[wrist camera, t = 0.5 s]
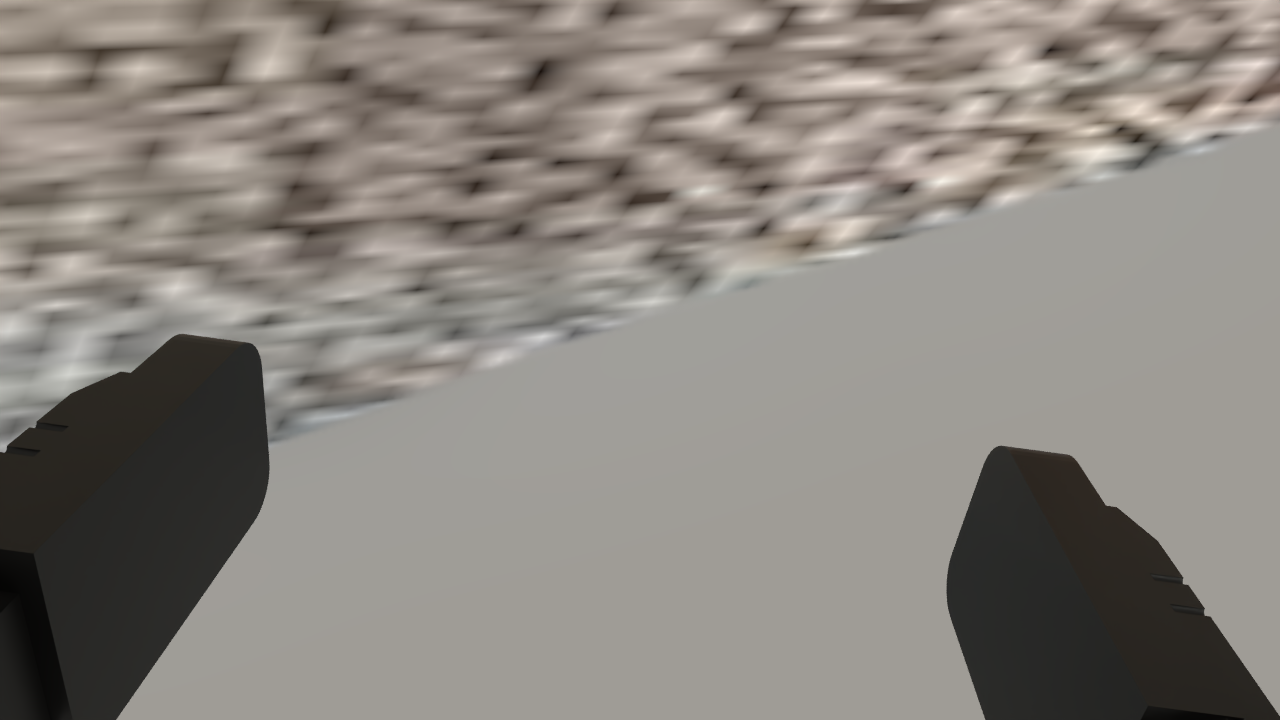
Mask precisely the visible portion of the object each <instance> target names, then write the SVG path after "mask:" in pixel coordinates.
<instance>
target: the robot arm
mask: <svg viewBox="0 0 1280 720" xmlns="http://www.w3.org/2000/svg"><path fill="white" fill-rule="evenodd" d="M268 479H269V451H268V438H267V426H266V413H265V400H264V388H263V375H262V365H261V359H260V355H259V353H258V350H257V349H256V347H255V346H254V345H253V344H251V343H246V342H239V341H231V340H224V339H216V338H209V337H201V336H194V335H187V334H178V335H176V336H174V337H172V338H171V339H170V340H169V341H167V342H166V343H165V344H164V345H163V346H162V347H160V348H159V349H158V350H157V351H156V352H155V353H153V354H152V355H151V356H150V357H149V358H148V359H147V360H145V361H144V362H143V363H142V364H141V365H140V366H138V367H137V368H136V369H135V370H134V371H133V372H131V373H127V372H119V373H117V374H115V375H112V376H110V377H108V378H105V379H103V380H101V381H99V382H96V383H94V384H92V385H89V386H87V387H85V388H83V389H80V390H78V391H76V392H73V393H71V394H70V395H69V396H68V397H66V398H65V399H64V400H63V401H61V402H60V403H59V404H58V405H57V406H55V407H54V408H53V409H52V410H50V411H49V412H48V413H47V414H46V415H44V416H43V417H42V418H41V419H39V420H38V421H37V425H36V427H35V428H28V429H27V430H26V431H25V432H23V433H22V434H21V435H20V436H18V437H17V438H16V439H15V440H14V441H12V442H11V443H10V444H9V445H7V450H6V452H5V453H2V452H0V720H116V719H117V718H118V716H119V715H120V713H121V712H122V710H123V709H124V708H125V706H126V705H127V703H128V702H129V700H130V699H131V697H132V696H133V695H134V693H135V692H136V690H137V689H138V688H139V686H140V685H141V683H142V682H143V680H144V679H145V677H146V676H147V675H148V673H149V672H150V670H151V669H152V667H153V666H154V665H155V663H156V662H157V660H158V658H159V657H160V656H161V655H162V653H163V652H164V650H165V649H166V647H167V646H168V644H169V643H170V642H171V640H172V639H173V637H174V636H175V634H176V633H177V631H178V630H179V629H180V627H181V626H182V624H183V623H184V621H185V620H186V619H187V617H188V616H189V614H190V613H191V611H192V610H193V609H194V607H195V606H196V604H197V603H198V601H199V600H200V599H201V597H202V596H203V594H204V593H205V591H206V590H207V589H208V587H209V586H210V584H211V583H212V581H213V580H214V578H215V577H216V576H217V574H218V573H219V571H220V570H221V568H222V567H223V565H224V564H225V563H226V561H227V560H228V558H229V557H230V556H231V554H232V553H233V551H234V550H235V548H236V547H237V546H238V544H239V543H240V541H241V540H242V538H243V537H244V535H245V534H246V533H247V531H248V530H249V528H250V527H251V525H252V524H253V522H254V521H255V519H256V518H257V516H258V514H259V512H260V510H261V507H262V505H263V501H264V498H265V495H266V490H267V486H268ZM947 604H948V609H949V613H950V617H951V620H952V623H953V626H954V629H955V632H956V635H957V638H958V641H959V644H960V647H961V650H962V653H963V656H964V658H965V661H966V664H967V667H968V670H969V673H970V676H971V679H972V682H973V684H974V688H975V691H976V693H977V697H978V700H979V702H980V705H981V708H982V711H983V714H984V717H985V720H1280V716H1279V715H1278V713H1277V712H1276V710H1275V709H1274V707H1273V706H1272V705H1271V703H1270V702H1269V700H1268V699H1267V697H1266V696H1265V695H1264V693H1263V692H1262V690H1261V689H1260V687H1259V686H1258V685H1257V683H1256V682H1255V680H1254V679H1253V677H1252V676H1251V674H1250V673H1249V672H1248V670H1247V669H1246V667H1245V666H1244V664H1243V663H1242V662H1241V660H1240V659H1239V657H1238V656H1237V654H1236V653H1235V651H1234V650H1233V649H1232V647H1231V646H1230V644H1229V643H1228V641H1227V640H1226V638H1225V637H1224V636H1223V634H1222V633H1221V631H1220V630H1219V628H1218V627H1217V626H1216V624H1215V623H1214V621H1213V620H1212V618H1211V617H1209V616H1205V615H1204V609H1205V608H1204V607H1203V605H1202V604H1201V603H1200V601H1199V600H1198V598H1197V597H1196V595H1195V594H1194V592H1193V591H1192V590H1191V588H1190V587H1189V586H1188V585H1184V584H1183V577H1182V575H1181V574H1180V572H1179V571H1178V569H1177V568H1176V567H1175V565H1174V564H1173V562H1172V561H1171V559H1170V558H1169V556H1168V555H1167V554H1166V552H1165V551H1164V549H1163V548H1162V546H1161V545H1160V544H1159V542H1158V541H1157V540H1156V539H1155V538H1153V537H1152V536H1151V535H1150V534H1149V533H1147V532H1146V531H1145V530H1144V529H1143V528H1141V527H1140V526H1139V525H1138V524H1136V523H1135V522H1134V521H1133V520H1132V519H1130V518H1129V517H1128V516H1127V515H1125V514H1124V513H1123V512H1122V511H1121V510H1119V509H1118V508H1117V507H1111V506H1106V505H1105V504H1104V502H1103V501H1102V499H1101V498H1100V496H1099V494H1098V493H1097V491H1096V490H1095V488H1094V487H1093V485H1092V484H1091V482H1090V481H1089V479H1088V478H1087V476H1086V475H1085V473H1084V471H1083V470H1082V468H1081V467H1080V465H1079V464H1078V462H1077V461H1076V460H1075V459H1074V458H1073V457H1072V456H1070V455H1066V454H1058V453H1051V452H1044V451H1036V450H1029V449H1021V448H1014V447H1007V446H998V447H996V448H994V449H993V450H992V451H991V452H990V454H989V455H988V457H987V459H986V461H985V463H984V465H983V468H982V471H981V474H980V476H979V479H978V482H977V485H976V488H975V491H974V493H973V496H972V499H971V502H970V505H969V507H968V511H967V513H966V516H965V519H964V521H963V524H962V527H961V530H960V533H959V536H958V538H957V541H956V544H955V547H954V550H953V552H952V556H951V559H950V563H949V568H948V574H947Z"/></svg>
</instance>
